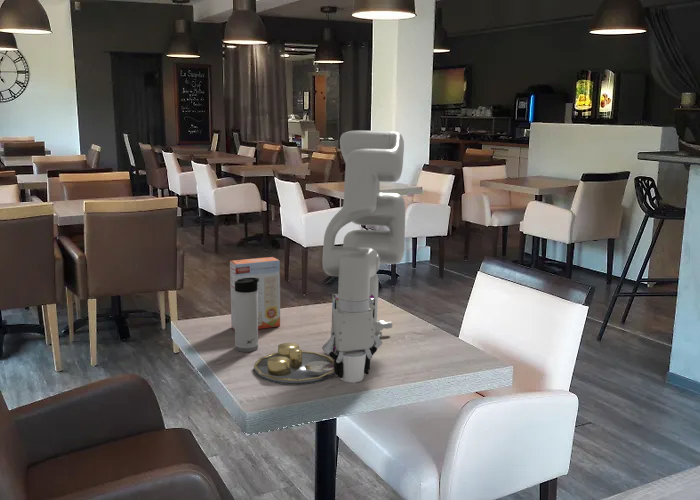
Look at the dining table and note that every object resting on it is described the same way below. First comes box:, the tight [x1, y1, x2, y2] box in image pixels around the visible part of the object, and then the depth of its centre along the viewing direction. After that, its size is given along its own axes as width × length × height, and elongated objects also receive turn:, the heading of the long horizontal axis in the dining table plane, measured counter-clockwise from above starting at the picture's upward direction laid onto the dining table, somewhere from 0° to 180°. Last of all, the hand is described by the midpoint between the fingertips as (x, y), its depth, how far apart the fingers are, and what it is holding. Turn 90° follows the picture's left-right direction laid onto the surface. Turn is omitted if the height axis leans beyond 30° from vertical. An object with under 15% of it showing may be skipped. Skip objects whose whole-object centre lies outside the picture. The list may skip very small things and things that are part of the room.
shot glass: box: [340, 350, 366, 383], centre depth 171 cm, size 7×7×7 cm
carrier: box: [253, 342, 336, 386], centre depth 177 cm, size 21×21×5 cm
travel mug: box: [234, 278, 259, 353], centre depth 190 cm, size 6×7×20 cm
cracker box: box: [229, 256, 281, 331], centre depth 209 cm, size 14×6×21 cm, turn 117°
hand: (352, 373), depth 172 cm, fingers closed on shot glass, 6 cm apart
